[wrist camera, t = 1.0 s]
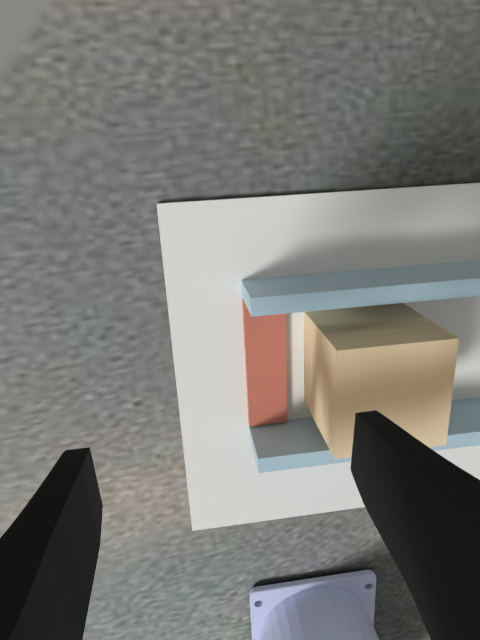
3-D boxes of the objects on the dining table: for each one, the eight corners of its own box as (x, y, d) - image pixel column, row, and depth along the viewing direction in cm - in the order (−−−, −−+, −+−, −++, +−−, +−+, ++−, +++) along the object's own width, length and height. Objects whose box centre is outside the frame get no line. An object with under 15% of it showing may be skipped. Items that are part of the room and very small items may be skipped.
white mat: (569, 474, 29) (573, 478, 28) (192, 526, 26) (192, 530, 26) (638, 172, 23) (644, 172, 22) (156, 203, 20) (156, 203, 20)
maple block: (395, 390, 25) (446, 445, 20) (304, 401, 24) (334, 459, 19) (401, 301, 23) (458, 338, 18) (303, 310, 22) (337, 350, 18)
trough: (478, 409, 26) (515, 440, 23) (249, 437, 24) (258, 473, 22) (499, 258, 23) (544, 272, 20) (241, 280, 22) (250, 298, 19)
